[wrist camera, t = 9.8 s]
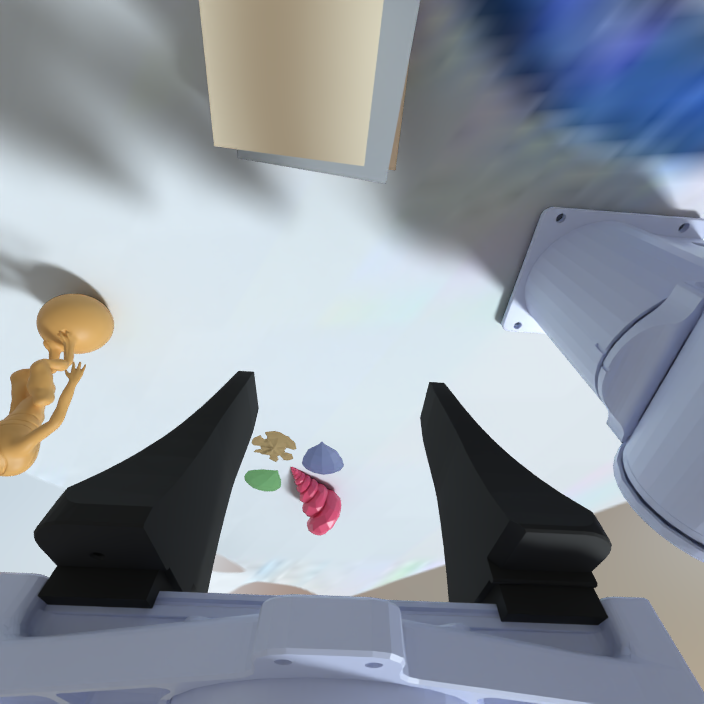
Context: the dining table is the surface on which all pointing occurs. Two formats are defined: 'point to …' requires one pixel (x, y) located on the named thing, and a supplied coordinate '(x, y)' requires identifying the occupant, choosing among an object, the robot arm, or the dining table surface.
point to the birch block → (292, 75)
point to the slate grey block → (385, 100)
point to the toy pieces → (302, 479)
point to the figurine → (50, 376)
